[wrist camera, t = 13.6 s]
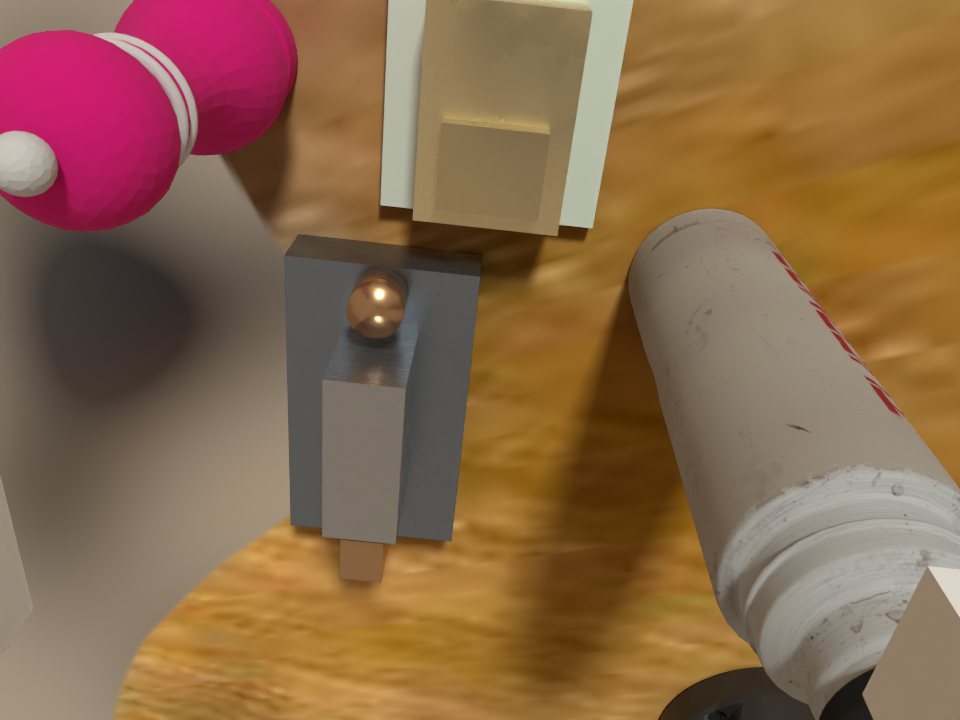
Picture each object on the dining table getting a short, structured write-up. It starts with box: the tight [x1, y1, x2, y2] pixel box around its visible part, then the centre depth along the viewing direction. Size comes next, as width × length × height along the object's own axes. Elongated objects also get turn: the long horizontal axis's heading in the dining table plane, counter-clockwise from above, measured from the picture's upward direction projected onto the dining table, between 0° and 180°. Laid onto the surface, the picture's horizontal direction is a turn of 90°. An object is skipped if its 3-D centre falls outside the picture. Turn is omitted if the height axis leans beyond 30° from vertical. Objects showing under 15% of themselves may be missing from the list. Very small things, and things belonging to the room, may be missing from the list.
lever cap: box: [413, 0, 593, 236], centre depth 37 cm, size 10×7×4 cm
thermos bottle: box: [628, 209, 960, 720], centre depth 31 cm, size 8×8×28 cm
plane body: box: [284, 234, 482, 583], centre depth 44 cm, size 18×10×8 cm, turn 174°
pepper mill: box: [0, 0, 298, 232], centre depth 30 cm, size 7×7×20 cm
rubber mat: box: [380, 0, 633, 228], centre depth 39 cm, size 11×11×1 cm
